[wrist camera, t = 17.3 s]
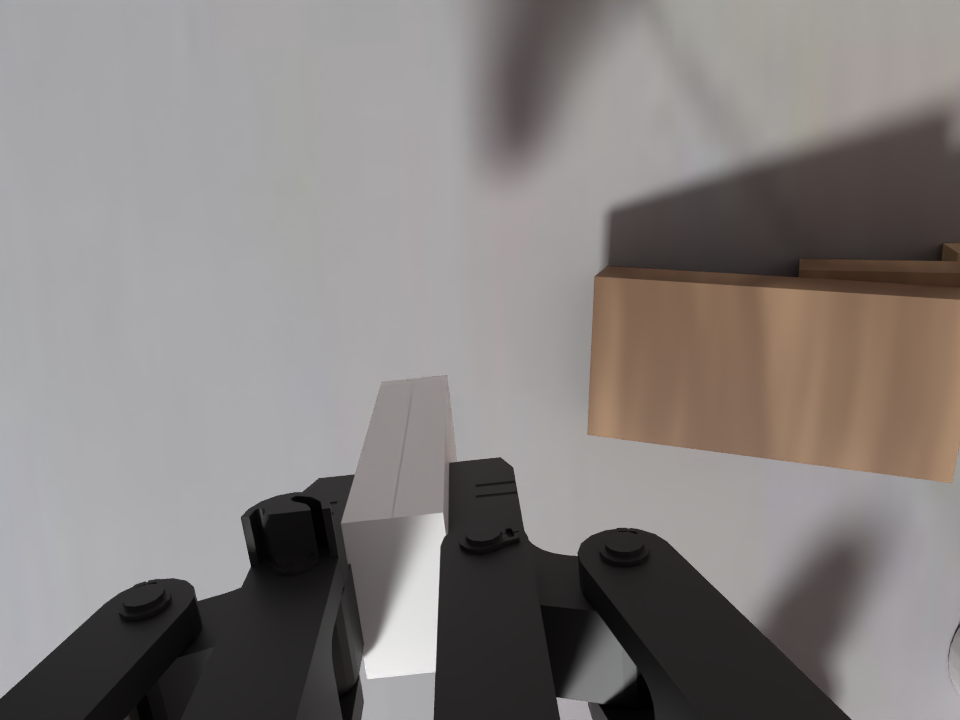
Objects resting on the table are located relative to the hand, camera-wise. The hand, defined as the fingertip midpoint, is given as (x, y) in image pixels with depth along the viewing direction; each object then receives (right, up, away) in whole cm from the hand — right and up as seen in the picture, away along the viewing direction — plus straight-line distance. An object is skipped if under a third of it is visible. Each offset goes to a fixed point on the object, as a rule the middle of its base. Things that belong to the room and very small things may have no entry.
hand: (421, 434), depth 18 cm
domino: (+5, +2, +7) cm, 8 cm away
